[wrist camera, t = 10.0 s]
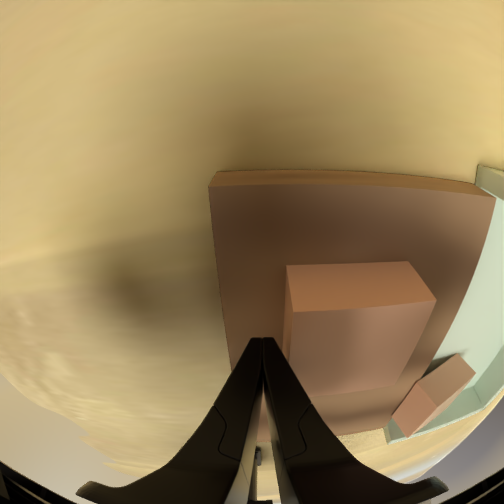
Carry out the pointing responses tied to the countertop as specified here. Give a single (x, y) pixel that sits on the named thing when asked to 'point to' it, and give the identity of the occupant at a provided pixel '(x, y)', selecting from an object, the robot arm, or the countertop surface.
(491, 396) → the sage tray
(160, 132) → the countertop surface
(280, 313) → the walnut board
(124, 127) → the countertop surface
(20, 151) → the countertop surface
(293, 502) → the robot arm
